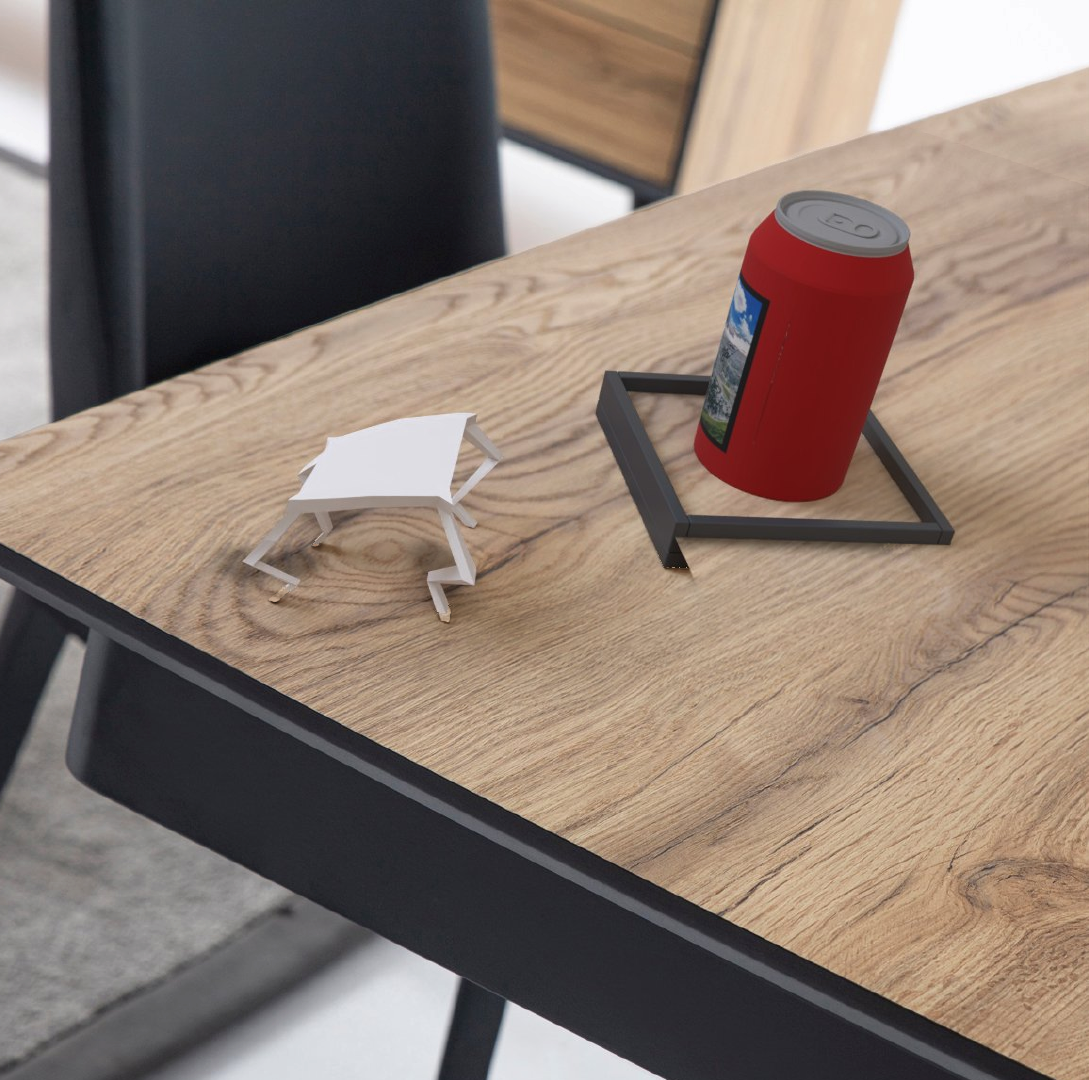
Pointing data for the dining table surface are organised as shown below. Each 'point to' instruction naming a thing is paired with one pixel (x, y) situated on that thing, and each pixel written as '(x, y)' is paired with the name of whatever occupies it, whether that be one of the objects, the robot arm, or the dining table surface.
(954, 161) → the dining table surface
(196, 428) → the dining table surface
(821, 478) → the beverage can
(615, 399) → the open square outline
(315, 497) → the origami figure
